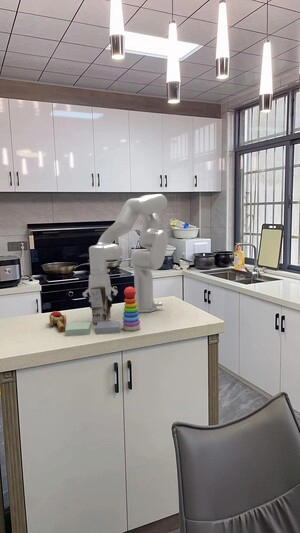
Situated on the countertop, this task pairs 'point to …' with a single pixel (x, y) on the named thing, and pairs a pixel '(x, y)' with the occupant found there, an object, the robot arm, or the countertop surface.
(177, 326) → the countertop surface
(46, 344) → the countertop surface
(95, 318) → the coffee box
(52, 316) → the kendama
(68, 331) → the sage brick
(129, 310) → the stacking toy
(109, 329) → the grey brick
